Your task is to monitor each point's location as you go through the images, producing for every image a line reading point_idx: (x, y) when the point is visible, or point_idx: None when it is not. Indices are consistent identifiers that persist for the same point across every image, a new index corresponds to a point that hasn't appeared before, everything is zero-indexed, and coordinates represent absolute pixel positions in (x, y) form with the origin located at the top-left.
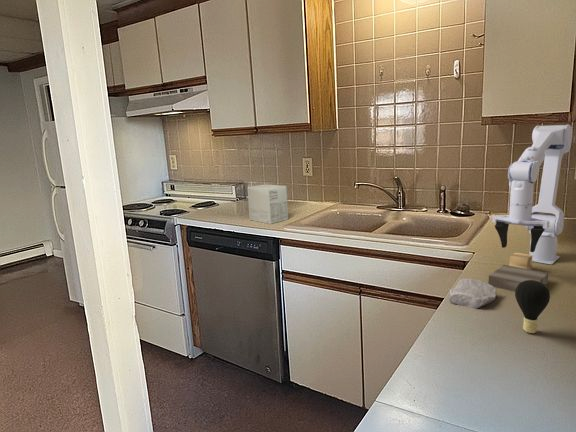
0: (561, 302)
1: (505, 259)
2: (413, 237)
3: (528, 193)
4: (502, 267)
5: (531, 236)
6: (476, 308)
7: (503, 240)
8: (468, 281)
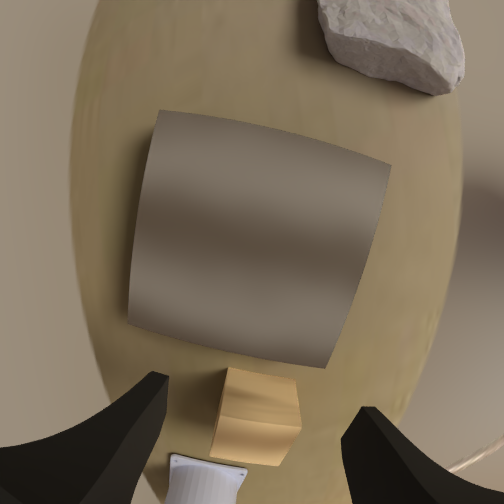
0: (95, 109)
1: (303, 461)
2: (479, 459)
3: None
4: (332, 328)
5: (98, 469)
6: None
7: (391, 442)
8: (437, 34)
